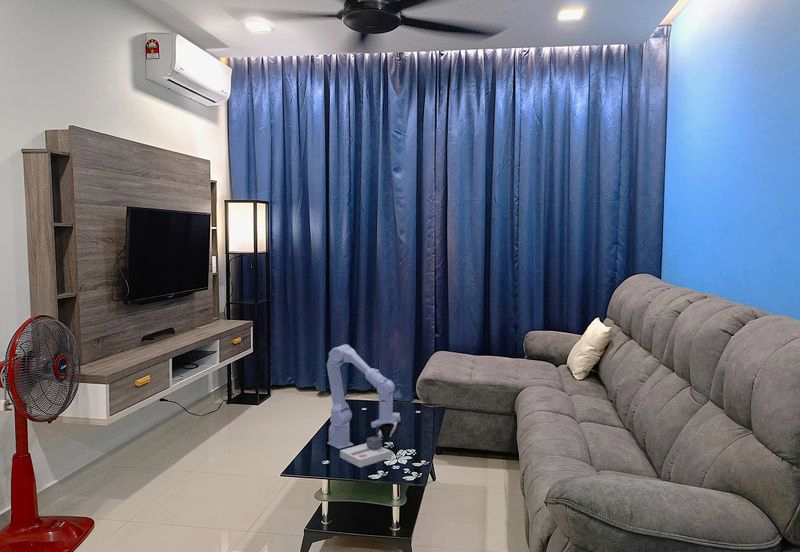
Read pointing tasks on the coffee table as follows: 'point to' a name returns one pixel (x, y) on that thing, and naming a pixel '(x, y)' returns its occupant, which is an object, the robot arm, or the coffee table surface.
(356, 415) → the coffee table surface
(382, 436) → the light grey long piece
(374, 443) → the switch lever
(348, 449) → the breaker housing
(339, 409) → the robot arm
